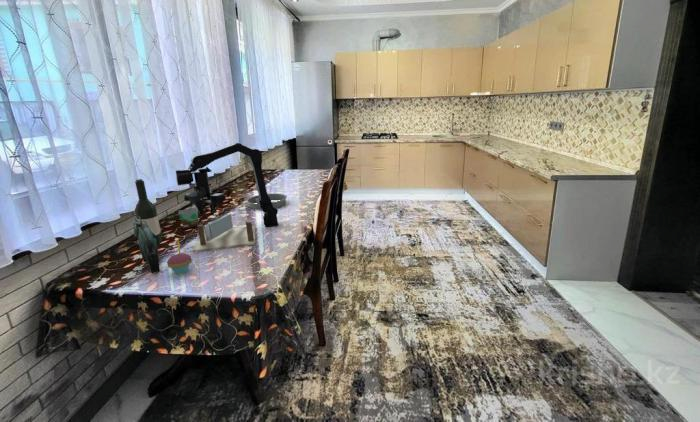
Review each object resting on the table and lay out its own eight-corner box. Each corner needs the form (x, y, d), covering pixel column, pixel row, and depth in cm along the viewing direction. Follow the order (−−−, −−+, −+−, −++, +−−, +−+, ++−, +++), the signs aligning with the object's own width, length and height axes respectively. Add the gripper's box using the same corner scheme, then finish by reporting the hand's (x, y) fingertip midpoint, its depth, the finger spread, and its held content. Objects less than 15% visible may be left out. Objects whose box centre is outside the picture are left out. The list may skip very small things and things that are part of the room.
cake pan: (244, 203, 228) (243, 196, 227) (281, 198, 238) (281, 191, 236) (251, 213, 207) (250, 205, 205) (292, 206, 216) (291, 199, 215)
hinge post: (206, 243, 160) (202, 224, 157) (205, 244, 158) (202, 225, 155) (201, 243, 159) (198, 224, 157) (200, 245, 157) (197, 226, 155)
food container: (191, 229, 182) (188, 210, 179) (181, 229, 183) (177, 210, 180) (205, 221, 194) (202, 204, 191) (195, 221, 195) (192, 204, 192)
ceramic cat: (139, 259, 148) (128, 213, 142) (156, 255, 151) (147, 210, 146) (147, 275, 132) (136, 225, 127) (166, 270, 136) (156, 221, 130)
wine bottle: (166, 239, 169) (153, 177, 160) (152, 246, 161) (138, 181, 153) (153, 238, 172) (140, 177, 163) (138, 244, 164) (123, 181, 155)
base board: (255, 227, 181) (255, 225, 180) (255, 244, 158) (255, 242, 158) (201, 233, 175) (201, 232, 174) (193, 252, 152) (192, 250, 152)
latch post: (254, 238, 162) (251, 219, 160) (253, 240, 160) (251, 221, 157) (248, 239, 162) (245, 220, 159) (248, 241, 159) (245, 222, 157)
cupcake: (174, 267, 138) (168, 238, 135) (196, 266, 139) (191, 237, 135) (165, 277, 130) (159, 247, 127) (189, 276, 131) (183, 245, 127)
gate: (209, 241, 157) (206, 226, 155) (205, 241, 158) (202, 226, 156) (233, 227, 174) (231, 213, 172) (229, 227, 175) (227, 213, 173)
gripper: (172, 185, 158) (178, 219, 162) (208, 186, 153) (213, 221, 157) (189, 180, 168) (195, 212, 173) (223, 181, 163) (228, 213, 167)
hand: (207, 214), depth 167 cm, fingers open, 6 cm apart
